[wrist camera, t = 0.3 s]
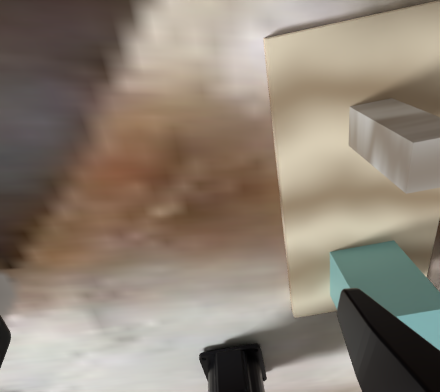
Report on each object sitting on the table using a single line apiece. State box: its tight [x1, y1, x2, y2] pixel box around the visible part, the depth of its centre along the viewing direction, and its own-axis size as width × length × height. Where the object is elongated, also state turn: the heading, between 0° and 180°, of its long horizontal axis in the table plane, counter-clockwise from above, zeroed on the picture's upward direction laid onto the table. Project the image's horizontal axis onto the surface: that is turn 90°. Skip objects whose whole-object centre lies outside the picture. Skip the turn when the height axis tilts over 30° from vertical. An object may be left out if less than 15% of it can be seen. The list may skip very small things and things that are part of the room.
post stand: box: [263, 0, 440, 318], centre depth 20 cm, size 24×12×8 cm, turn 11°
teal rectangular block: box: [330, 240, 440, 350], centre depth 23 cm, size 5×5×7 cm
